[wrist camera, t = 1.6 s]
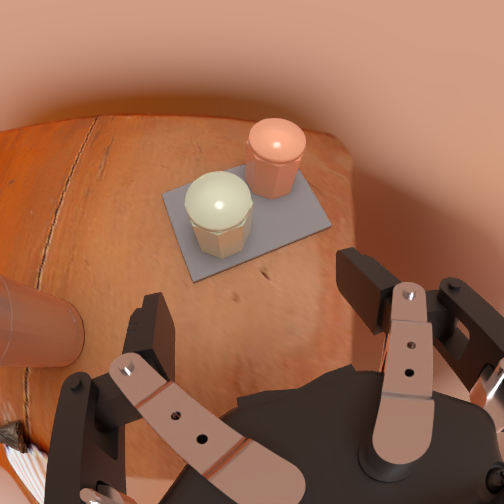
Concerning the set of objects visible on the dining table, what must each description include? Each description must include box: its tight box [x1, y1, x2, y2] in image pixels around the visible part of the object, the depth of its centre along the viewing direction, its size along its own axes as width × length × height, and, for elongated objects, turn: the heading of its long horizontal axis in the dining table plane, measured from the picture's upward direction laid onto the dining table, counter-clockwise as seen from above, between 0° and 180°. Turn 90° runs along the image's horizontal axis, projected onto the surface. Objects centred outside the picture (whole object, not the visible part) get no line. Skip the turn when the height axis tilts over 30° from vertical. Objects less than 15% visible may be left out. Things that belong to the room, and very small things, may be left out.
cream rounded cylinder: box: [184, 171, 253, 259], centre depth 31 cm, size 6×6×8 cm
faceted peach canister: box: [245, 118, 306, 200], centre depth 34 cm, size 6×6×8 cm
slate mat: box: [162, 164, 332, 283], centre depth 37 cm, size 19×13×1 cm
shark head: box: [0, 421, 27, 453], centre depth 21 cm, size 8×6×7 cm
